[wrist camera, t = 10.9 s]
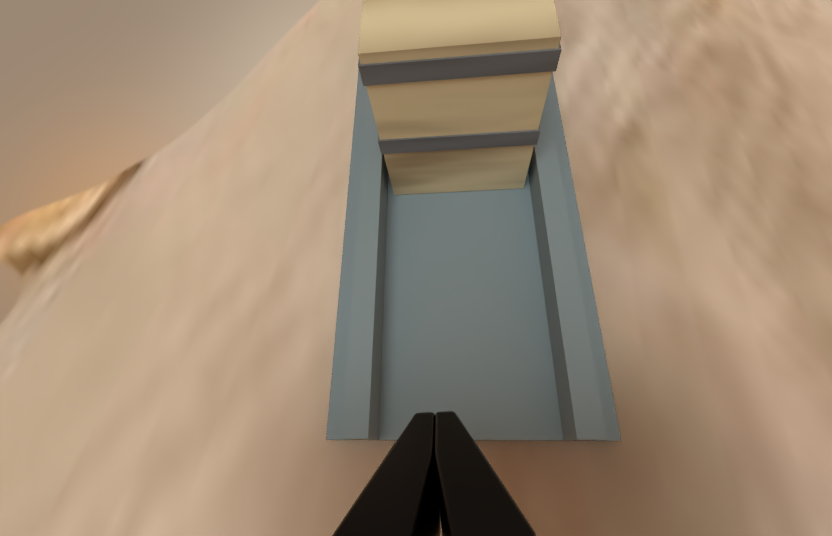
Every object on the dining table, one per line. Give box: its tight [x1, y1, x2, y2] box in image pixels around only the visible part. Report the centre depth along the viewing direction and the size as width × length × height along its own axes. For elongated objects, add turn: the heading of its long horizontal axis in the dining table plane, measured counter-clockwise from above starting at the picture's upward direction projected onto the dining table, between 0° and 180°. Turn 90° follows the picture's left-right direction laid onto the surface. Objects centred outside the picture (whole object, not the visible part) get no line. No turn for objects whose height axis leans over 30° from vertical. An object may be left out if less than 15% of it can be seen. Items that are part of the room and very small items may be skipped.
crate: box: [358, 0, 561, 195], centre depth 22 cm, size 7×8×10 cm
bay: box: [326, 71, 621, 441], centre depth 21 cm, size 29×15×10 cm, turn 0°
